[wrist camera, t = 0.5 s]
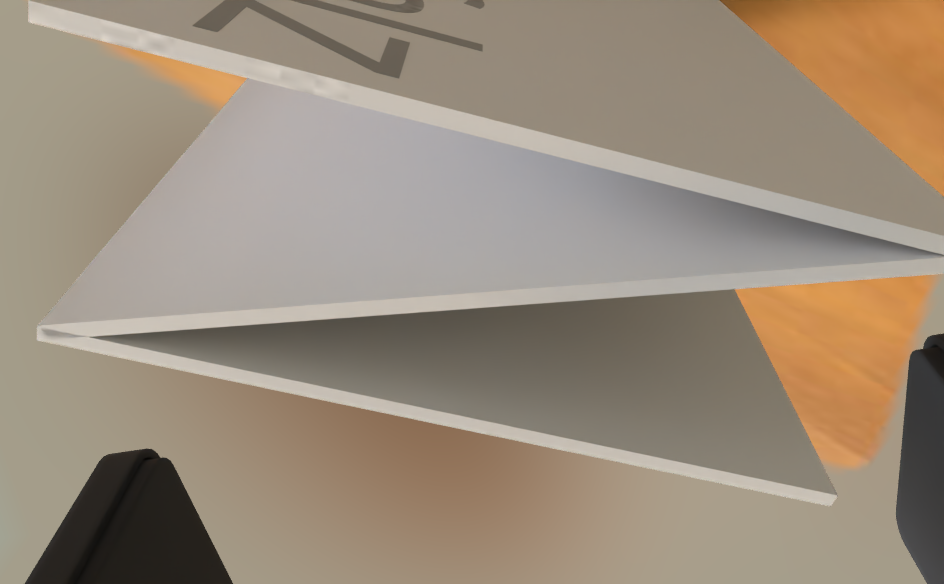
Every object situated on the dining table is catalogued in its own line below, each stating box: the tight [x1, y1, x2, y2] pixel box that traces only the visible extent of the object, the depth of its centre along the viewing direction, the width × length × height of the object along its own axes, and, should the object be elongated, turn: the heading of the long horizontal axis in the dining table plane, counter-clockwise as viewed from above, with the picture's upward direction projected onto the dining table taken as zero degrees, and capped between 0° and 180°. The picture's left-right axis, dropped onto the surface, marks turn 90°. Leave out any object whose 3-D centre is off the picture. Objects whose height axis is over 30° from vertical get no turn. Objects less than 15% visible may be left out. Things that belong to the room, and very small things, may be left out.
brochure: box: [28, 0, 944, 506], centre depth 25 cm, size 14×6×30 cm, turn 75°
